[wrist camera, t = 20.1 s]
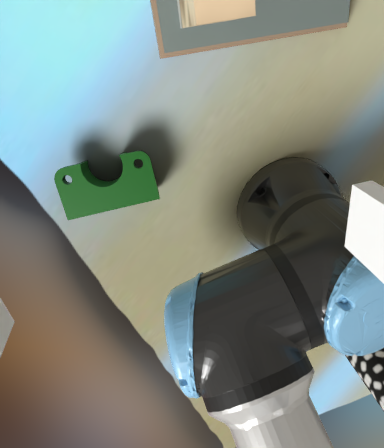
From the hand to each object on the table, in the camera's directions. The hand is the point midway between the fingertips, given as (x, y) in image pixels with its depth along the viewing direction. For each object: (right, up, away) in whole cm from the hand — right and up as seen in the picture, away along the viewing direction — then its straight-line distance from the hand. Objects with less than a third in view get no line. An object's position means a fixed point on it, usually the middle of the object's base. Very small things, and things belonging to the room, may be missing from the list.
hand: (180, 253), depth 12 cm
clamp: (-10, +8, +31) cm, 34 cm away
